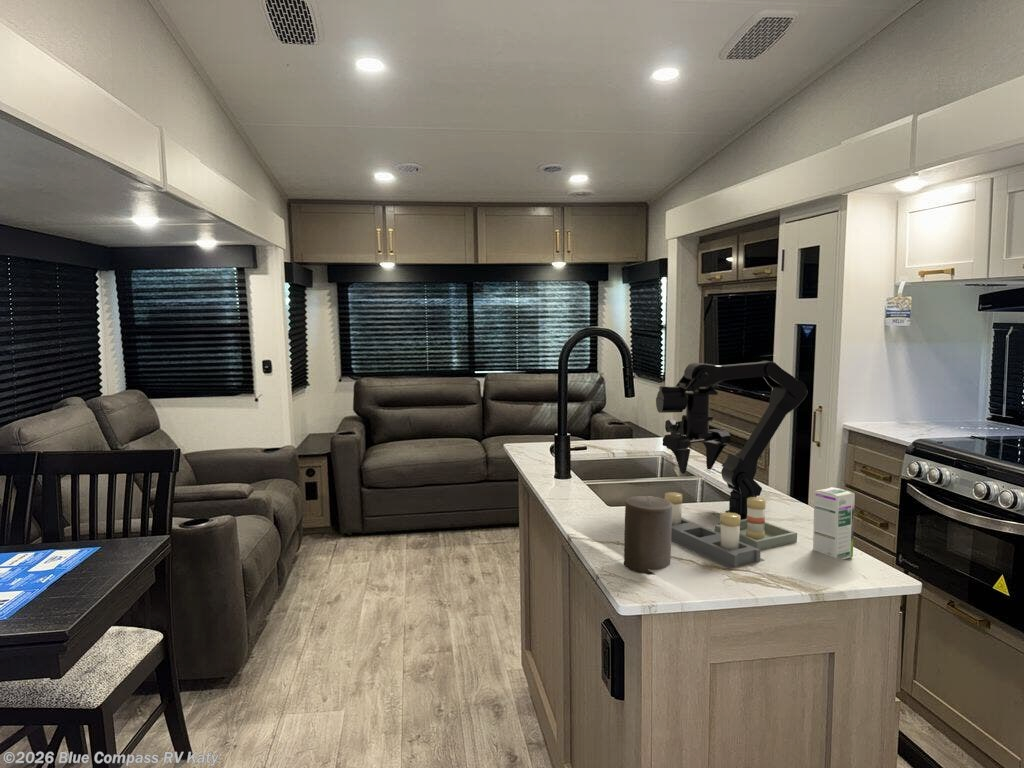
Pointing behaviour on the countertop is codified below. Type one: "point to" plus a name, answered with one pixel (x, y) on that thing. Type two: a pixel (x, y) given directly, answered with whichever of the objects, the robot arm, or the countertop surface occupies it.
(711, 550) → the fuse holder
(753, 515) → the cylinder
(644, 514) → the pillar candle
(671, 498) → the cylinder
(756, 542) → the tray
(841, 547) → the syrup box
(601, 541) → the countertop surface
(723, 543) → the cylinder
